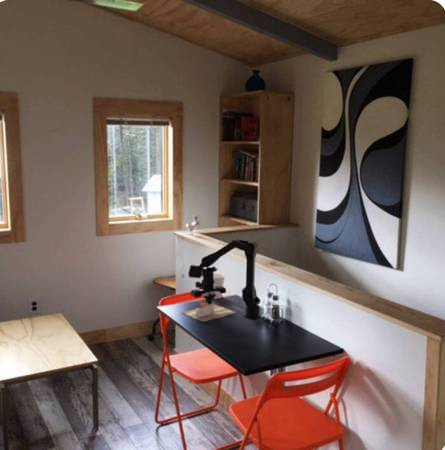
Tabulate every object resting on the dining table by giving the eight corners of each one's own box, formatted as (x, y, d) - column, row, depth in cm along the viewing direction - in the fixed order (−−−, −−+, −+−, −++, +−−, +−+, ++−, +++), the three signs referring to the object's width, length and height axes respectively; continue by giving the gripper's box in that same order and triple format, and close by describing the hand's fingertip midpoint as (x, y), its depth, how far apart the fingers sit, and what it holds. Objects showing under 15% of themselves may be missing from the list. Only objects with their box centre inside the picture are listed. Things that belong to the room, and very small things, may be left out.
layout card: (236, 313, 280) (236, 312, 280) (202, 322, 264) (202, 321, 264) (214, 305, 292) (214, 304, 292) (181, 313, 277) (181, 312, 276)
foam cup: (226, 296, 309) (227, 275, 307) (218, 300, 302) (218, 278, 300) (213, 293, 314) (213, 272, 312) (204, 297, 306) (205, 275, 304)
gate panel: (202, 307, 285) (203, 299, 284) (212, 312, 277) (212, 303, 277) (200, 308, 284) (200, 299, 283) (209, 313, 276) (209, 304, 276)
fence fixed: (214, 315, 276) (215, 304, 275) (197, 319, 268) (197, 309, 267) (212, 314, 277) (212, 303, 276) (194, 318, 269) (195, 308, 268)
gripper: (216, 273, 292) (217, 300, 294) (186, 277, 283) (186, 305, 285) (226, 277, 282) (226, 305, 284) (194, 282, 273) (195, 311, 276)
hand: (208, 307), depth 283 cm, fingers closed
